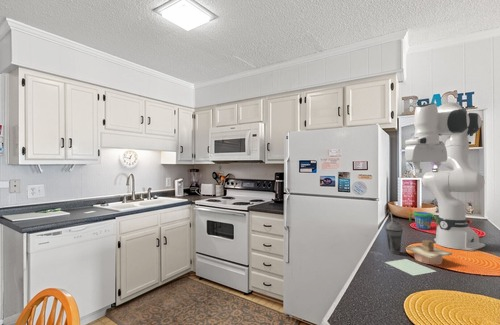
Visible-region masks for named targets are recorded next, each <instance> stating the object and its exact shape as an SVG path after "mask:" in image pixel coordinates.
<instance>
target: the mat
mask: <svg viewBox="0 0 500 325" xmlns="http://www.w3.org/2000/svg"><path fill="white" fill-rule="evenodd" d="M384 264H387V265H390V266H391V267H394V268H396V269H398V270H400V271H402V272H404V273H406V274H409V275H410V276H419V275H425V274H430V273H436V272H438V271H437V270H434V269H432V268H430V267H427V266H425V265H421V264H420V263H417V262H414V261H412V260H409V259H407V258H404V259H397V260H396V259H395V260H391V261H390V260H389V261H385V262H384Z"/></svg>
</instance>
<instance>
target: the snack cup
mask: <svg viewBox="0 0 500 325" xmlns="http://www.w3.org/2000/svg"><path fill="white" fill-rule="evenodd" d="M412 215H413V216H414V221H415V227H416V228H417V229H419V230H425V231H427V230H431V226H432V220H433V218H434V219H435V221H436V222H435V226H438V225H439V224H438V217H437V216H436V215H434V214H433V213H432V212H426V211H414V212H412V213H411V214H410V215H409V222H411V223H412Z"/></svg>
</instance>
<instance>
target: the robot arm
mask: <svg viewBox="0 0 500 325" xmlns="http://www.w3.org/2000/svg"><path fill="white" fill-rule="evenodd" d="M482 124H483V122H482V117H481V116H480V115H479V113H477V112H469V113H468V110H467V109H466V108H464V107H462V105H460V104H459V103H457V102H454V101H453V102H451V101H450V102H445V103H443V104H441V105H439V106H437V103H434V102H433V103H424V104H419V105H417V106H416V107H415V110H414V117H413V125H414V129H415V130H414V133H413V136H412V137H411V138H409V139H406V140H405V141H404V144H405V149H404V150H405V151H404V156H405V157H404V158H405V159H404V160H405V161H406V163H412V166H413V167H414V169H415V170H414V171H415V173H416V174H422V172H423V171H422V170H423V168H421V166H420V165H421V163H433V167H432V168H431V171H426V172H425V173H424V174H423V175H422V178H421V181H422V186H424V188H425V189H426V190H428V191H429V192H431V193H432V194H433V196H434V198H435V199H436V202H437V207H438V208H437V210H438V217H437V220H438V224H437V225H436V232H435V237H434V238H433V240H434V241H433V242H435V244H436V245H438V246H440V247H444V248H448V249H454V250H463V251H476V250H479V249H481V248H484V247H486V244H485V243H483V242H480V238H479V234H478V233H477V232H476V231H475V230H473V229H472V228H471V227H470V226H469V224H472V223H473V220H472V219H468V218H466V217H467V216H466V204H465V202H463V201H462V200H460V199H458V198H456V197H454V196H453V195H452V194H451V192H454V193H477V192H480V191H481V190H482V189H483V188H484V186H485V179H484V177H483V175H482V174H481V173H480V172H478V171H476V170H474V169H473V168H472V167H471V166H470V164H469V153H470V150H469V149H470V144H469V143H470V142H469V136H470V137H473V136H474V134H476V133H477V132H478V131H480V129H481V126H482ZM440 136H447V139H446V140H445V143H444V142H443V140H440ZM441 164H442V165H443V166H444V167H446V168H447V169H450V170H439V168H440V167H441Z"/></svg>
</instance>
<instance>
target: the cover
mask: <svg viewBox="0 0 500 325" xmlns="http://www.w3.org/2000/svg"><path fill="white" fill-rule="evenodd" d="M434 244H435V241H432V240H429V239H423V240H421V244H419V245H414V246H406V247H405V250H407V251H410V252H413V253H414V252H415V253H418V254H421V255H423V256H426V257H429V258H435V257H441V256H442V257H447V256H452V255H453V252H450V251H447V250H444V249H440V248H437V247H435V246H434Z"/></svg>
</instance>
